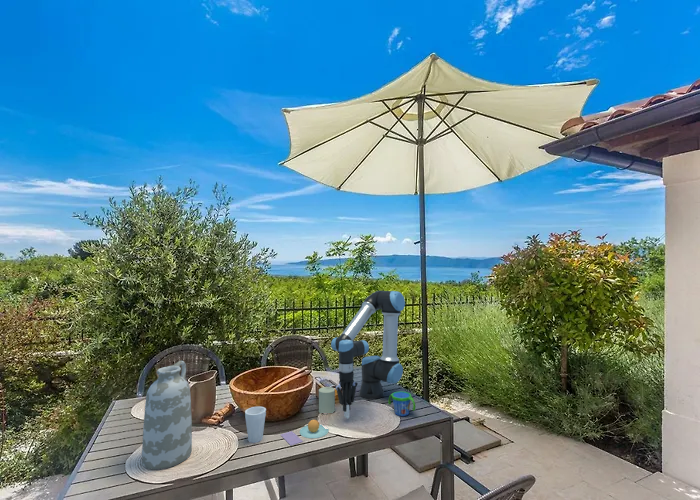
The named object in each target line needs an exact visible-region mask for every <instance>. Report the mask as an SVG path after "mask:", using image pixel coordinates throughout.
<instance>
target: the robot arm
mask: <svg viewBox="0 0 700 500" xmlns="http://www.w3.org/2000/svg"><path fill="white" fill-rule="evenodd" d="M405 306H406V300H405V297H404V295H403V294H402V293H401V292H400V291H396V290H377V291H373V292H372V293H371V294H369V295H368V296H367V297H366V298H365V299H364V300H363V302H362V303H361V307H360V308H359V310H358V311H357V313H356V314H355V315H354V317H353V318H352V320H350V322H349V323H348V324H347V326H346V327H345V328H344V330H343V331H342V333H341V334H340V335H339V337H338V336H336V337H334V338H332V340H331V342H330V347H331V349H332V350H333V351H336V352H338V371H339V372H338V376H339V377H338V379H339V381H338V384H337V385H335V386H334V389H335V391H336V394H337V398H338V403H339V405H341V406H342V411H343V415H344V416H343V417H344V418H346V419H349V418H350V411H351V405H353V403H354V401H355V395H356V390H357V386H358V382H356V381H355V380H354V378H355V376H354V358H356V357H359V356H363V355H366V354H367V353H368V352H369V350H370V345H369V343H368V342H367V341H366V340H364V339H362V340H355V338H356V337H357V336H358V335H359V332H360V331H361V330H362V328H364V325H365V324H366V323H367V321H368V320H369V319H370V317H371V315H373V314H375V313H376V312H377V311H379V310H381V313H382V315H383V330H382V331H383V334H382V335H383V337H382V355H381V356H379V355H370V356H365V357H364V356H363V358H362V359H361V384H360V388H359V393H358V394H359V396H360V397H362V398H365V399H371V400H373V399H379V398H382V397H384V394H385V393H384V388H383V385H382V382H385V383H387V384H397V383H398V382H399V381H400V380H401V379H402V377H403V373H404V367H403V365H402V364H401V363H400V359H399V358H398V355H397V354H398V330H399V329H398V327H399V326H398V325H399V316H400V315H401V313H402V311H403V310H404V309H405Z"/></svg>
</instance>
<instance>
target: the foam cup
mask: <svg viewBox="0 0 700 500" xmlns="http://www.w3.org/2000/svg"><path fill="white" fill-rule="evenodd" d="M266 411H267V408H266V407H264V406H252V407H249V408H247V409H245V410H244V412H245V413H244V417H245V424H246V425H245V426H246V431H247V440H248V442H249V443H259V442H261V441H262V440H263V436H264V430H265V429H264V428H265V421H266V415H267V412H266Z"/></svg>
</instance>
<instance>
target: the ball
mask: <svg viewBox="0 0 700 500" xmlns="http://www.w3.org/2000/svg"><path fill="white" fill-rule="evenodd" d="M319 424H320V422H319V421H318V420H317V419H311V420H310V421H309V422H308V423H307V425H308V429H309V431H310V432H316V431H317V430H318V429H319Z"/></svg>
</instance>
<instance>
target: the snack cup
mask: <svg viewBox="0 0 700 500" xmlns="http://www.w3.org/2000/svg"><path fill="white" fill-rule="evenodd" d="M414 399H415V398H413V396H412V394H411V393H410V392H407V391H403V390H401V391H399V390H398V391H395V392H392V393H391V394H390V395H389V396H388V401H387V402H388V403H387V404H388V406H389V405H391V404H392V405H393V409H394V413H395V415H397V416H399V417H405V416H408V415H409V413H410V408H411V402H412V411H415V410H416V403H415V402H416V401H415V400H414Z"/></svg>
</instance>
